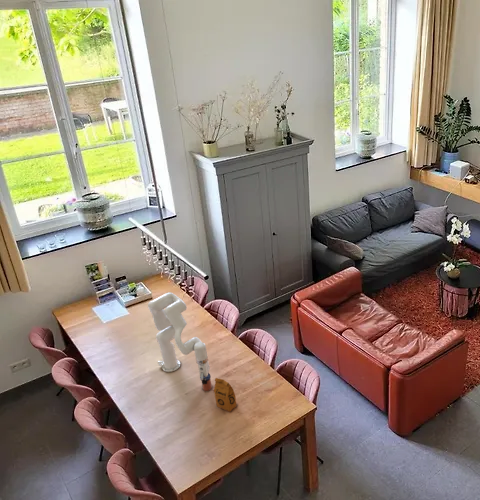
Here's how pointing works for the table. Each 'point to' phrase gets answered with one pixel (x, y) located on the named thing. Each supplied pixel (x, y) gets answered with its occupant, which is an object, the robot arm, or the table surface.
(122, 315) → the table surface
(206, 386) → the jar
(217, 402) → the coffee package
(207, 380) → the lid
